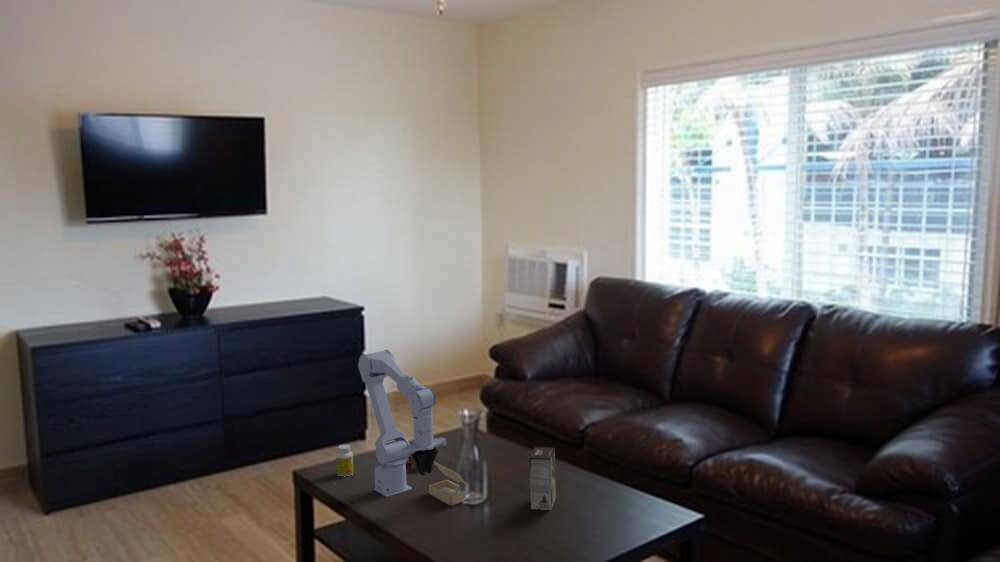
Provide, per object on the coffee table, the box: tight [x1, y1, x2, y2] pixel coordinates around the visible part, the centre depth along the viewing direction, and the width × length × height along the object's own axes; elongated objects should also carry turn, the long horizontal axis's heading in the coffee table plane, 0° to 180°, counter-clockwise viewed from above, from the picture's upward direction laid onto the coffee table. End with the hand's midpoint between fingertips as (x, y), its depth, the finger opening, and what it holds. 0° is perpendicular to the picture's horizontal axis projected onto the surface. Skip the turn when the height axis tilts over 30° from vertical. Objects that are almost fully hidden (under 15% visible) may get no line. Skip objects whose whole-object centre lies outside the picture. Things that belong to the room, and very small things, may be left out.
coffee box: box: [529, 446, 557, 511], centre depth 235 cm, size 9×6×16 cm
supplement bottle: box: [336, 444, 355, 478], centre depth 262 cm, size 5×5×10 cm
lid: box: [433, 461, 469, 487], centre depth 242 cm, size 7×12×1 cm
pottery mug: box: [407, 451, 423, 470], centre depth 269 cm, size 12×10×8 cm
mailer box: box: [428, 479, 467, 506], centre depth 242 cm, size 7×12×3 cm, turn 38°
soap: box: [439, 487, 457, 496], centre depth 241 cm, size 3×5×2 cm, turn 48°
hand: (425, 473), depth 236 cm, fingers closed
